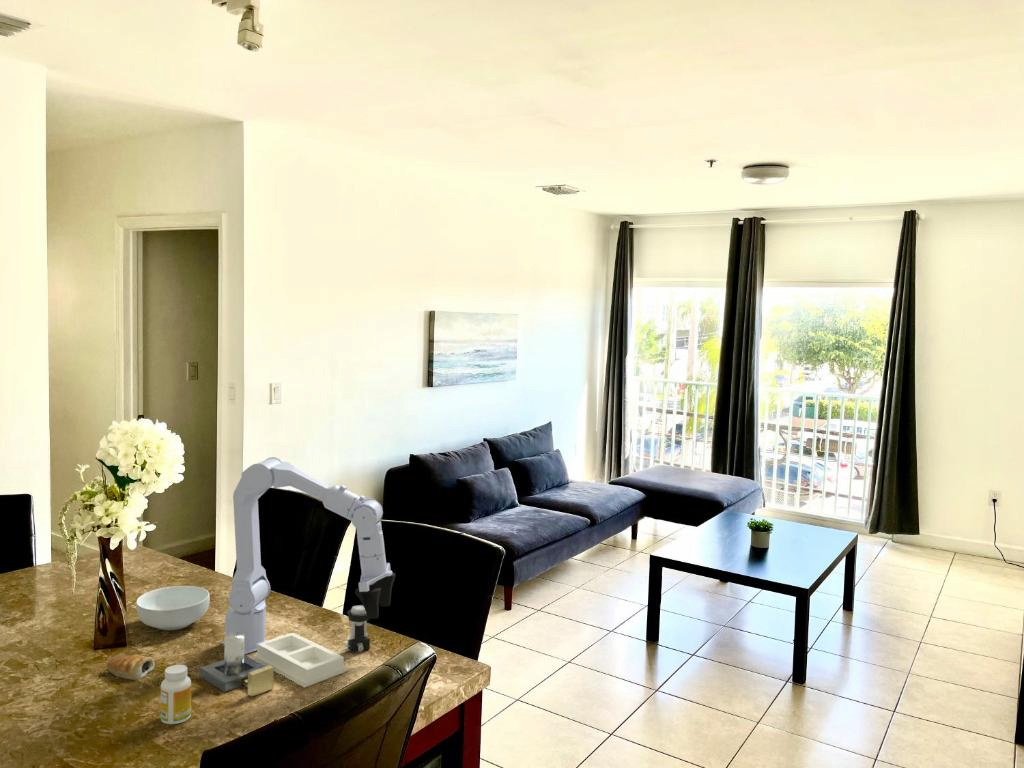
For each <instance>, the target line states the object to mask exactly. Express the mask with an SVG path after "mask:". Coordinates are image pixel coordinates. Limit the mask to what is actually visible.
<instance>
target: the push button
mask: <svg viewBox="0 0 1024 768" xmlns="http://www.w3.org/2000/svg"><path fill="white" fill-rule="evenodd" d="M347 615H348V617H347V618H348V620H349V621H350V636H349V638H348V639H347V644H345V645H342V646H341V647H342V648H344V649H341V651H342V652H347V651H348V652H350V653H356V652H357V653H358V652H363V651H369V650H370V648H371V645H370V644H371V643H370V642H371V639H370V638H369V637H368V633H367V623H368V622H367V621H369V620H370V619H369V618H368V616H367V614H366V611H365V608H364V606H363V604H362V605H361V604H359V605H353V606H352V607H351V609H349V610H347Z"/></svg>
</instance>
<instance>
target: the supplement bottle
mask: <svg viewBox="0 0 1024 768" xmlns="http://www.w3.org/2000/svg"><path fill="white" fill-rule="evenodd" d="M191 715H192V680H191V677H189V676H188V667H187V665H184V664H174V665H170V666H168V667H166V668H165V670H164V679H163V680H162V681H161V683H160V721H161V722H162V723H164V724H166V725H177V724H182V723H184V722H187V721H188V720H189V719H190V718H191Z"/></svg>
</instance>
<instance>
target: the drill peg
mask: <svg viewBox="0 0 1024 768" xmlns="http://www.w3.org/2000/svg"><path fill="white" fill-rule="evenodd" d="M244 638H245V635H244V634H243V633H240V632H233V633H229V634H227V635H225V634H224V640H225V645H224V649H223V651H224V653H223V654H224V655H223V656H224V658H223V660H224V674H225V675H227V676H232V675H235V674H238V673H241V672H244V655H245V654H244Z"/></svg>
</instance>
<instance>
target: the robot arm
mask: <svg viewBox="0 0 1024 768" xmlns="http://www.w3.org/2000/svg"><path fill="white" fill-rule="evenodd" d="M272 487H273V489H278V488H279V489H280V488H284V487H285V488H286V487H292V488H294V489H296V490H299V491H301V492H303V493H305V494H308V495H310V496H312V497H314V498H317V499H319V500H321V501H322V504H323V506H324V508H325V509H327V510H329V511H331V512H333V513H335V514H337V515H339V516H341V517H343V518H345V519H347V520H350V521H351V524H352V525H353V527H354V528H356V535H357V536H356V538H357V546H358V554H359V561H360V562H359V563H360V569H361V575H360V581H359V582H358V587H357V588H356V589H355V591H354V592H355V593H354V594H355V595H356V597H357V598H358V599H359V600H360V602H361V604H362V605H363V606H364V608H365V611H366V614H367V616H368V618H369V620H377V619H379V613H380V611H379V610H380V608H382V607H384V608H385V607H390V606H391V599H392V590H393V589H392V588H393V587H394V586H393V585H394V581H395V579H396V577H397V575H396V572H393V571H392V570H391V563H390V562H387V559H386V549H385V540H384V535H383V534H384V533H383V530H382V529H383V528H382V521H381V519H382V517H383V514H384V511H383V506H382V504H381V503H380V502H379V501H377V500H376V499H375V498H366V496H365V495H358V494H357V493H354V492H352V491H350V490H348V487H347V486H346V485H344V484H341V485H338V484H335V485H332V486H329V485H327V484H325V483H323V482H322V481H320V480H318V479H317V478H315V477H312V476H311V475H310V474H308V473H306V472H304V471H302V470H300V469H299V468H297V467H295V466H294V465H293V464H291V463H290V462H288V461H284V460H282V459H281V458H278V457H276V456H272V457H271V456H270V457H268V458H266V459H264V460H262V461H260V462H257V463H253V464H251V465H250V466H249V467H247V468H246V469H244V471H242V472H241V477H240V480H239V481H238V483H237V485H236V487H235V489H234V491H233V495H232V498H233V499H232V501H233V502H232V503H233V519H234V521H233V522H234V536H235V540H234V542H235V555H236V556H235V558H236V560H235V561H236V571H235V573H234V575H233V577H232V580H231V589H230V592H229V595H228V603H229V606H230V607H229V608H228V609H227V611H226V613H225V617H224V618H225V620H224V622H225V623H224V625H225V626H224V627H225V628H224V636H225V635H227V634H229V633H233V632H240V633H243V634H244V635H245V638H244V655H247V654H250V653H254V652H257V644H259V643H262V642H265V641H268V639H266V623H267V622H266V617H267V615H266V613H267V609H266V607H267V606H266V598H268V596H269V595H270V592H271V585H270V584H271V583H270V582H269V580H268V577H267V573H266V571H267V570H266V569H265V568H264V566H262V559H261V557H262V556H261V542H260V541H261V539H260V519H259V517H260V515H259V499H260V498H261V496H262V495H264V494H265V493H266V492H267V491H268V490H269V489H271V488H272ZM379 606H380V607H379ZM221 644H223V645H224V646H225V639H224V640H221Z"/></svg>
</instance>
